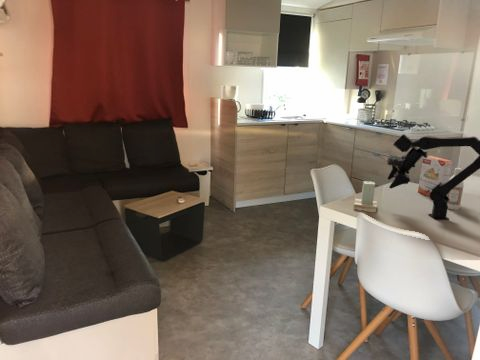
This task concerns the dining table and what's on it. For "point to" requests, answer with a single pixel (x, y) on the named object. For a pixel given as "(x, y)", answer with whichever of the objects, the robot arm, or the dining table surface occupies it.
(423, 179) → the cracker box
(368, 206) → the birch block
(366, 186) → the tea tin
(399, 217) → the dining table surface
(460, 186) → the bath foam
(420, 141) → the robot arm
